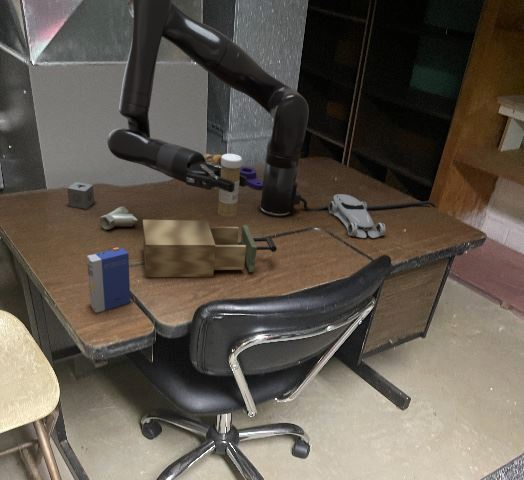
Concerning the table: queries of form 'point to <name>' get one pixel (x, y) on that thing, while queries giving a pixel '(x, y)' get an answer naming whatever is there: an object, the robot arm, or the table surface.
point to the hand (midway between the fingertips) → (239, 184)
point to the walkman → (108, 279)
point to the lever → (251, 177)
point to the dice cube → (80, 195)
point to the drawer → (236, 248)
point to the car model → (355, 216)
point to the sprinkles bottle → (232, 173)
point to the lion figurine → (213, 158)
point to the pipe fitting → (117, 219)
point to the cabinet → (178, 248)
